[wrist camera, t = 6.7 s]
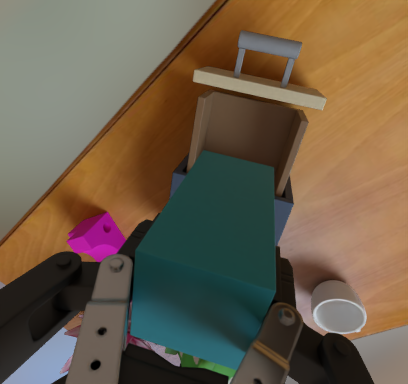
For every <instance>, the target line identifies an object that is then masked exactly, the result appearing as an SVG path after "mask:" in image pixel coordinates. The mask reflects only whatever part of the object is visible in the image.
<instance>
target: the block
mask: <svg viewBox="0 0 408 384" xmlns="http://www.w3.org/2000/svg"><path fill="white" fill-rule="evenodd" d="M275 293H276V257H275V199H274V167H271V166H267V165H263V164H259V163H255V162H250V161H246V160H242V159H238V158H234V157H230V156H226V155H222V154H218V153H214V152H210V151H206V150H203V151H202V153H201V154H200V156H199V157H198V159H197V160H196V162H195V163H194V165H193V166H192V168H191V169H190V171H189V172H188V173H187V175H186V176H185V178H184V179H183V181H182V182H181V184H180V185H179V187H178V188H177V190H176V191H175V193H174V194H173V196H172V197H171V198H170V200H169V201H168V203H167V204H166V206H165V207H164V209H163V210H162V212H161V213H160V215H159V216H158V218H157V219H156V221H155V222H154V223H153V225H152V226H151V228H150V229H149V231H148V232H147V234H146V235H145V237H144V238H143V240H142V241H141V243H140V244H139V246H138V247H137V248H136V250H135V265H134V280H133V296H132V311H131V327H130V335H131V336H135V337H138V338H141V339H144V340H147V341H150V342H153V343H156V344H159V345H162V346H165V347H168V348H171V349H174V350H177V351H180V352H183V353H186V354H189V355H192V356H195V357H198V358H201V359H204V360H207V361H210V362H213V363H216V364H219V365H222V366H225V367H228V368H231V369H234V370H237V369H238V367H239V365H240V363H241V361H242V359H243V357H244V355H245V354H246V352H247V350H248V348H249V346H250V344H251V342H252V341H253V340H254V338H255V336H256V334H257V332H258V331H259V329H260V327H261V324H262V322H263V320H264V318H265V315H266V313H267V311H268V309H269V306H270V304H271V302H272V300H273V297H274V295H275Z"/></svg>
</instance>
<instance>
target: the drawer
mask: <svg viewBox="0 0 408 384" xmlns="http://www.w3.org/2000/svg"><path fill="white" fill-rule="evenodd" d="M301 46H302V42H299V41H294V40H288V39H283V38H278V37H273V36H268V35H263V34H258V33H253V32H248V31H243V30H242V31H241V32H240V35H239V40H238V47H239V52H238V56H237V61H236V66H235V70H234V72H233V71H228V70H224V69H219V68H214V67H210V66H207V67H203V68H199V69H195V70H194V76H193V82H197V83H201V84H206V85H210V86H215V87H219V88H224V89H228V90H233V91H237V92H242V93H246V94H251V95H255V96H260V97H264V98H269V99H273V100H278V101H283V102H287V103H292V104H296V105H301V106H305V107H310V108H314V109H319V110H323V107H324V104H325V102H326V99H327V98H326V97H325V96H324V95H322V94H321V93H320V92H319V91H318V90H317V89H312V88H308V87H303V86H298V85H294V84H289V83H288V80H289V77H290V74H291V71H292V67H293V64H294V61H295V59H297V58H298V56H299V53H300V50H301ZM245 49H249V50H254V51H259V52H264V53H268V54H273V55H278V56H283V57H288V62H287V65H286V69H285V72H284V75H283V79H282V82H280V81H275V80H270V79H266V78H261V77H256V76H252V75H247V74H242V73H240V72H241V67H242V63H243V58H244V54H245ZM308 123H309V122H308V120H307V118H306V116H305V114H304V112H303V110H300V109H295V108H291V107H286V106H282V105H277V104H273V103H268V102H264V101H259V100H255V99H250V98H246V97H241V96H237V95H232V94H228V93H223V92H219V91H214V90H208V91H207V92H205V93H204V94H202V95H200V96H199V97H198V102H197V108H196V114H195V121H194V127H193V133H192V140H191V146H190V152H189V159H188V165H187V171H186V173H188V172H189V171H190V169H191V168H192V166H193V165H194V163H195V162H196V160H197V159H198V157H199V156H200V154H201V153H202V151H203V150H206V151H210V152H214V153H218V154H222V155H226V156H230V157H234V158H238V159H242V160H246V161H250V162H255V163H259V164H263V165H267V166H271V167H274V196H278V197H281V196H282V194H283V191H284V188H285V185H286V183H287V180H288V177H289V174H290V172H291V169H292V166H293V164H294V161H295V158H296V155H297V153H298V150H299V147H300V145H301V142H302V139H303V136H304V134H305V131H306V128H307V125H308Z"/></svg>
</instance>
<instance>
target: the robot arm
mask: <svg viewBox="0 0 408 384" xmlns="http://www.w3.org/2000/svg"><path fill="white" fill-rule="evenodd" d="M159 215H160V213H158V214H157V216H156V217H155V219H154V220H153V221H151V220H147V219H146V220H145V221H143V222H141V223H139V224H138V226H137V227H136V228H135V230H134V231H133V232H132V234H131V235H130V236H129V237H128V239H127V240H126V241H125V243H124V244H123V245H122V247H121V248H120V249H119V251H118V252H117V253H116V254H112V255H109V256H107V257H105V258H104V259H103V260H102V261H101V262H82V261H81V257H80V256H79V255H78V254H77V253H75V252H70V251H66V252H60V253H57V254H55V255H53V256H51V257H50V258H48V259H46V260H45V261H43V262H42V263H40V264H39V265H37V266H36V267H34V268H33V269H31V270H29V271H28V272H26V273H25V274H23V275H22V276H20V277H19V278H17V279H15V280H14V281H12V282H11V283H9V284H8V285H6V286H5V287H3V288H2V289H0V384H2V383H3V382H4V381H5V380H6V379H7V378H8V377H9V376H10V375H11V374H13V373H14V372H15V371H16V370H17V369H18V368H19V367H20V366H21V365H22V364H23V363H24V362H25V361H27V360H28V359H29V358H30V357H31V356H32V355H33V354H34V353H35V352H36V351H38V350H39V349H40V348H41V347H42V346H43V345H44V344H45V343H46V342H47V341H48V340H49V339H50V338H52V337H53V336H54V335H55V334H56V333H57V332H58V331H59V330H60V329H61V328H62V327H64V326H65V325H66V324H67V323H68V322H69V321H70V320H71V319H72V318H73V317H74V316H76V315H77V314H78V313H79V312H80V311H85V312H84V316H83V319H82V323H81V327H80V331H79V334H78V338H77V342H76V346H75V349H74V353H73V357H72V361H71V364H70V368H69V372H68V374H67V375H65V376H63V377H62V378H60V379H58V380H57V381H55V382H53V383H52V384H228V379H229V376H226V375H224V374H221V373H218V372H215V371H212V370H209V369H206V368H198V367H179V366H175V365H173V364H171V363H170V362H168V361H167V360H165V359H164V358H163V357H161V356H160V355H158V354H157V353H155V352H154V351H152V350H149V349H146V348H143V347H140V346H137V345H134V344H131V343H128V345H127V347H126V340H127V331H128V322H129V312H130V303H131V301H132V296H133V280H134V265H135V250H136V248H137V247H138V246H139V244H140V243H141V241H142V240H143V238H144V237H145V235H146V234H147V232H148V231H149V229H150V228H151V226H152V225H153V223H154V222H155V221H156V219H157V218H158V216H159ZM275 257H276V293H275V295H274V297H273V300H272V302H271V304H270V306H269V309H268V311H267V313H266V315H265V318H264V320H263V322H262V324H261V327H260V329H259V331H258V332H257V334H256V336H255V338H254V340H253V341H252V342H251V344H250V346H249V348H248V350H247V352H246V354H245V355H244V357H243V359H242V361H241V363H240V365H239V367H238V369H237V370H236V372H235V374H234V376H233V378H232V380H231V382H230V384H285V381H286V378H287V375H288V376H289V377H291V378H292V379H294V380H295V381H297V382H298V383H299V384H374V382H373V380H372V378H371V376H370V374H369V372H368V370H367V368H366V366H365V364H364V362H363V360H362V358H361V356H360V354H359V352H358V350H357V348H356V347H355V346H354V344H353V343H352V342H351V341H350V340H348V339H347V338H346V337H344V336H342V335H340V334H338V333H327V334H326V335H325V336H323V335H321V334H319V333H318V332H316V331H314V330H313V329H311V328H310V327H308V326H307V325H306V324H305V323H304V322H303V319H302V316H301V315H300V313H299V312H298V311H297V309H296V299H295V289H294V278H293V268H292V266H291V264H290V262H289V261H288V259H285V258H281V257H280V247H279V246H275Z"/></svg>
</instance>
